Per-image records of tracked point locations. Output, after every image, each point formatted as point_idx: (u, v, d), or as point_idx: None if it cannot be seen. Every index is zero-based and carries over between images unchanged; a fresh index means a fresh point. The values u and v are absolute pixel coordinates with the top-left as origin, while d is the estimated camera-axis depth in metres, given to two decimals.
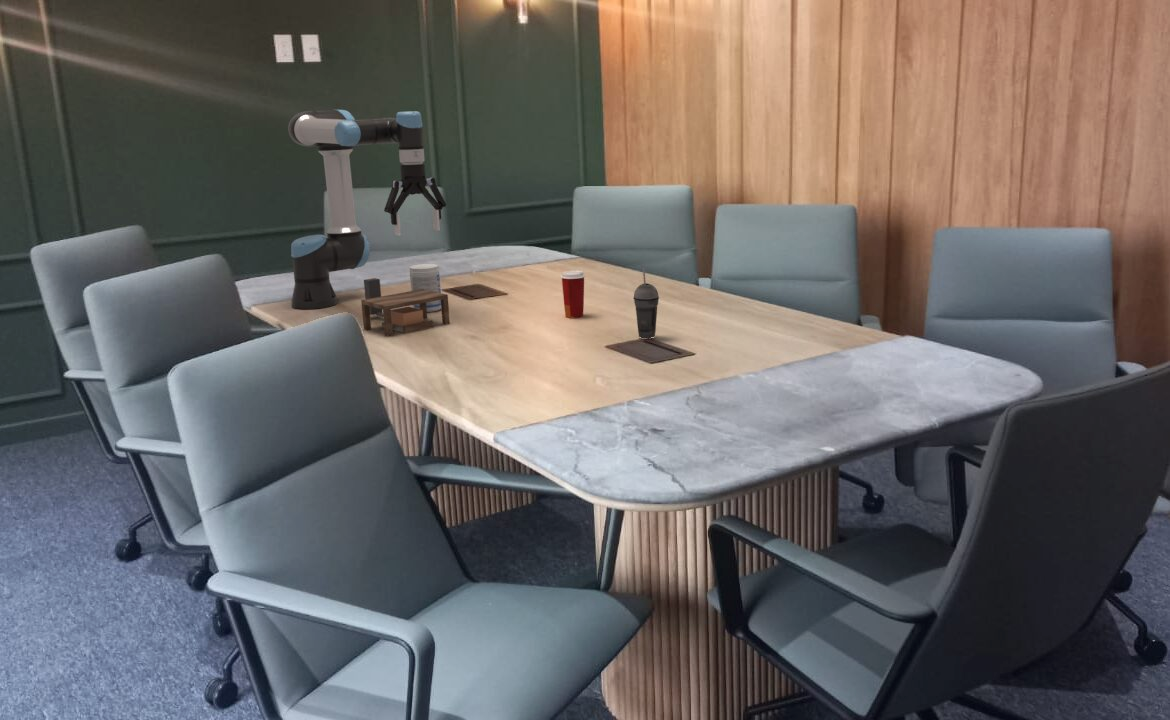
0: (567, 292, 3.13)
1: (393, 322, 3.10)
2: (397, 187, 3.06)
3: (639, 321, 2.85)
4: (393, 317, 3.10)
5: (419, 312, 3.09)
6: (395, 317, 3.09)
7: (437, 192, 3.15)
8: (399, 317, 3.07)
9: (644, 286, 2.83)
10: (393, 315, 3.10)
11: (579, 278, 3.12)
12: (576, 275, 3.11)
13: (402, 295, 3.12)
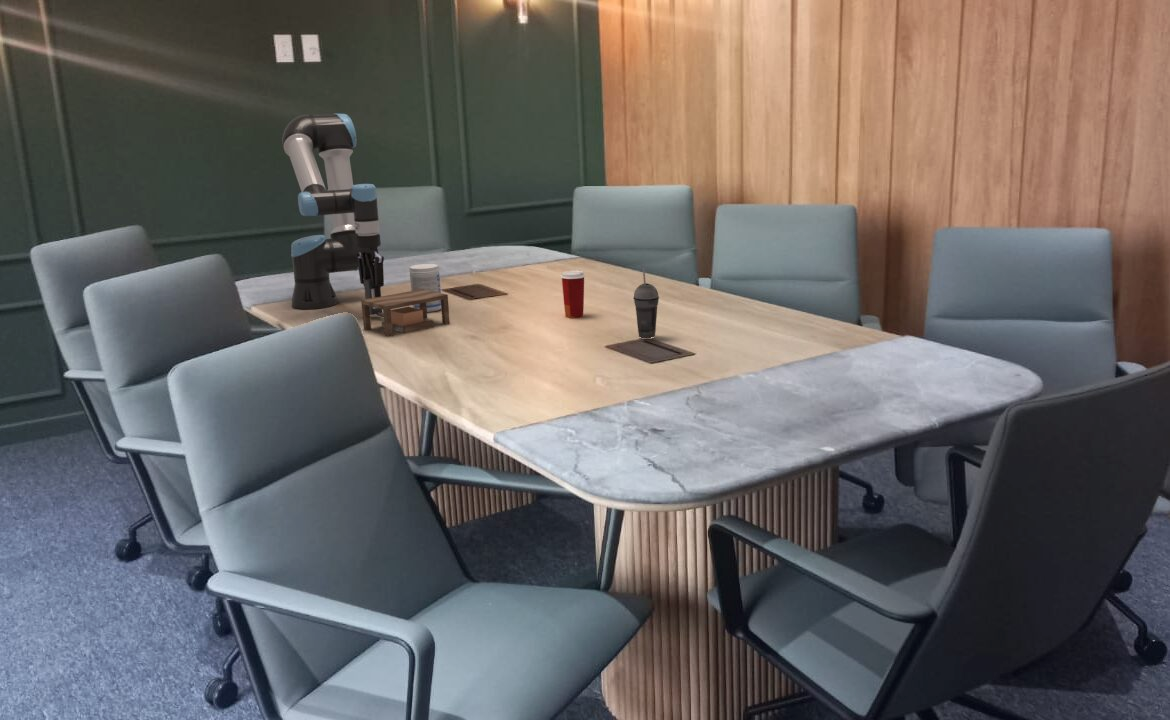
0: (567, 292, 3.13)
1: (393, 322, 3.10)
2: (358, 258, 3.24)
3: (639, 321, 2.85)
4: (393, 317, 3.10)
5: (419, 312, 3.09)
6: (395, 317, 3.09)
7: (375, 271, 3.17)
8: (399, 317, 3.07)
9: (644, 286, 2.83)
10: (393, 315, 3.10)
11: (579, 278, 3.12)
12: (576, 275, 3.11)
13: (402, 295, 3.12)
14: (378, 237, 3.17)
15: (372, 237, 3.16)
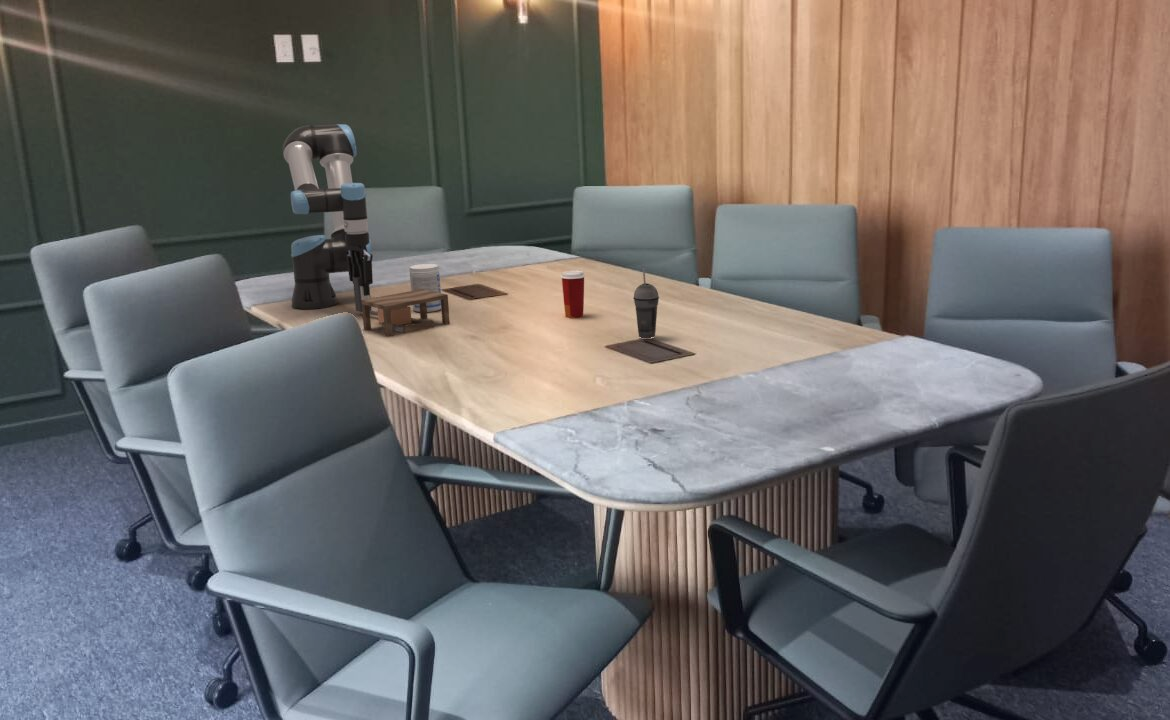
0: (567, 292, 3.13)
1: (381, 319, 3.15)
2: (347, 256, 3.28)
3: (639, 321, 2.85)
4: (381, 314, 3.15)
5: (407, 309, 3.14)
6: None
7: (364, 268, 3.22)
8: None
9: (644, 286, 2.83)
10: (381, 312, 3.15)
11: (579, 278, 3.12)
12: (576, 275, 3.11)
13: (402, 295, 3.12)
14: (367, 235, 3.22)
15: (361, 235, 3.21)
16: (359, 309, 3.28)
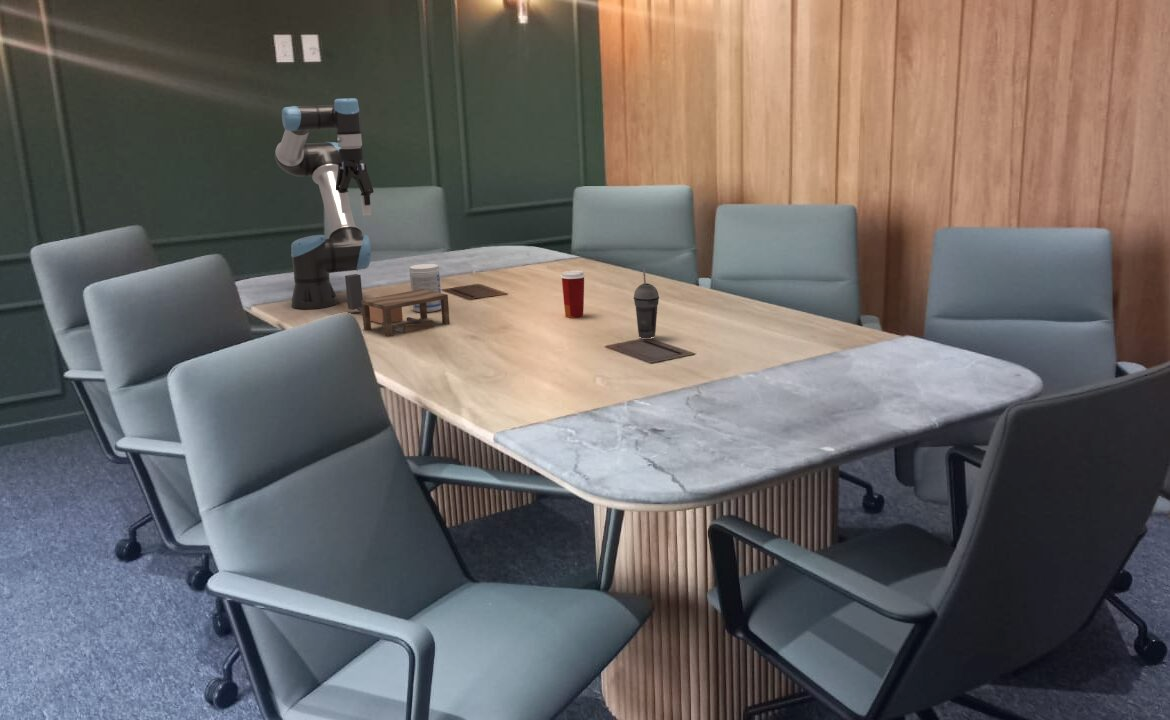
0: (567, 292, 3.13)
1: (373, 316, 3.19)
2: (339, 168, 3.31)
3: (639, 321, 2.85)
4: (373, 311, 3.18)
5: None
6: (375, 312, 3.17)
7: (361, 178, 3.22)
8: (379, 311, 3.16)
9: (644, 286, 2.83)
10: (372, 310, 3.18)
11: (579, 278, 3.12)
12: (576, 275, 3.11)
13: (402, 295, 3.12)
14: (360, 150, 3.25)
15: (354, 150, 3.23)
16: (351, 307, 3.31)
